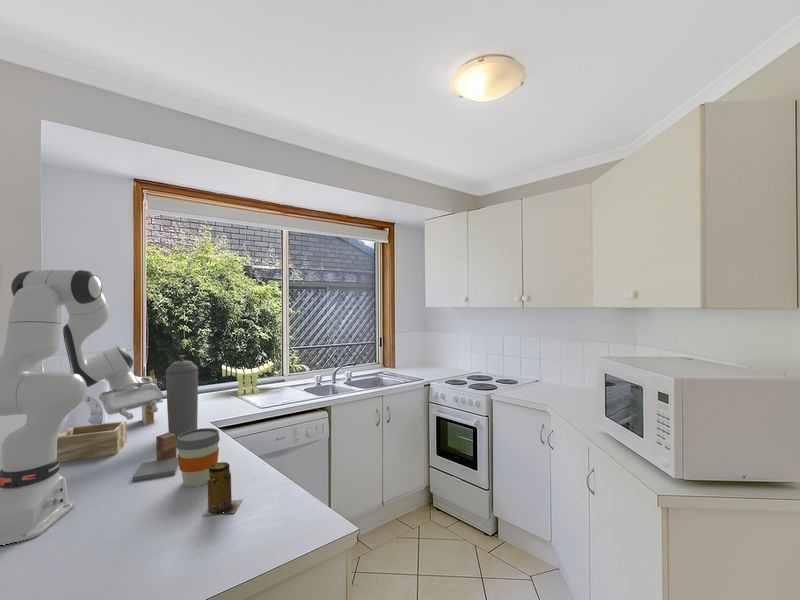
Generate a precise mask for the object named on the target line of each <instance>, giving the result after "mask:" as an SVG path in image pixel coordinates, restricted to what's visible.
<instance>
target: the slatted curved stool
mask: <svg viewBox="0 0 800 600" xmlns="http://www.w3.org/2000/svg"><path fill="white" fill-rule="evenodd" d="M272 369H274V363H273V362H272V361H268V362H267V363H264V364H263V365H260V366H258V367H254V368H251V369H249V368H248V369H239V368H236V369H235V368H231V367H229V366H227V367H226V365H224V364H222V365H221V371H222V375H221V376H222V378H223V377H226V376H229V377H230V376H232V377H236V380H237V382H238V386H237V390H236V394H237V393H238V394H244V395H252V394H260V390H259V388H258V386H257V382H258V378H259V375H261V374H263V373H272Z"/></svg>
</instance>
